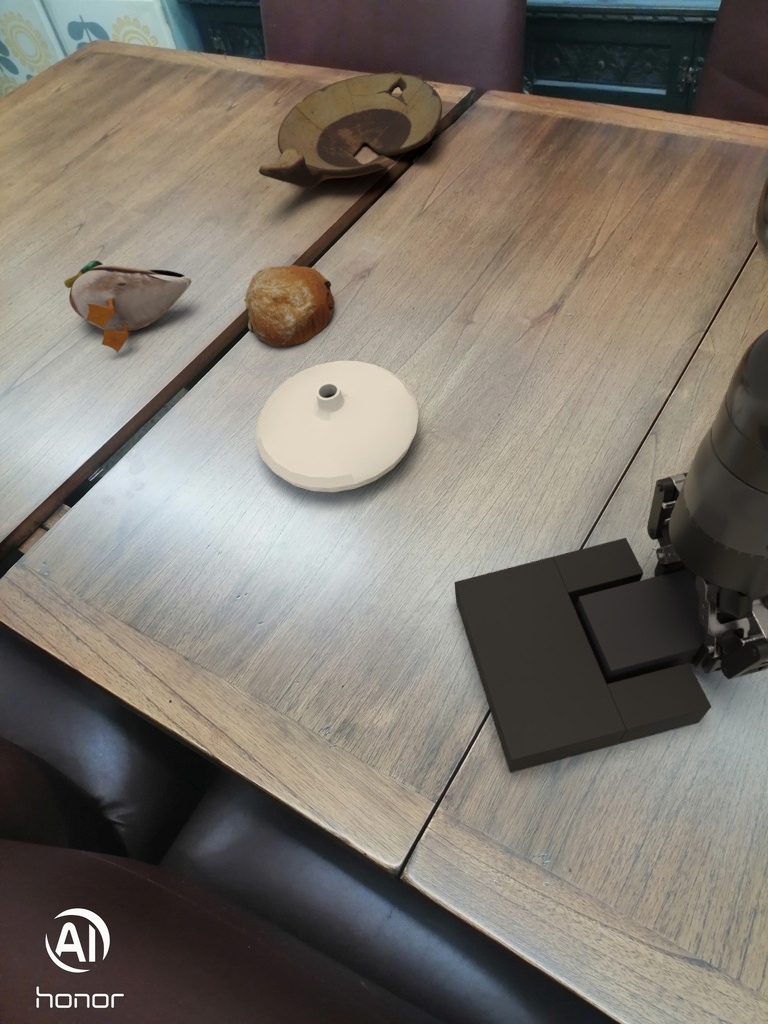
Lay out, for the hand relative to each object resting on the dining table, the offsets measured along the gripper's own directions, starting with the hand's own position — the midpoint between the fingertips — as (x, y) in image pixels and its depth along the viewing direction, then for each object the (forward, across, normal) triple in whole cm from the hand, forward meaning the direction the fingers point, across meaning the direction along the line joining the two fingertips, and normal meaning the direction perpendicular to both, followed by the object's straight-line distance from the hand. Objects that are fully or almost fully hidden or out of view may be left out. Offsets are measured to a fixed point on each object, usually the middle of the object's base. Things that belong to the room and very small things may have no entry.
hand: (685, 622), depth 52 cm
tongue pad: (+1, 0, +3) cm, 3 cm away
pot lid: (+2, +27, +22) cm, 35 cm away
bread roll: (+2, +47, +24) cm, 53 cm away
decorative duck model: (+2, +55, +42) cm, 69 cm away
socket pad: (+1, 0, +9) cm, 9 cm away
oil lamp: (+1, +77, +12) cm, 78 cm away
